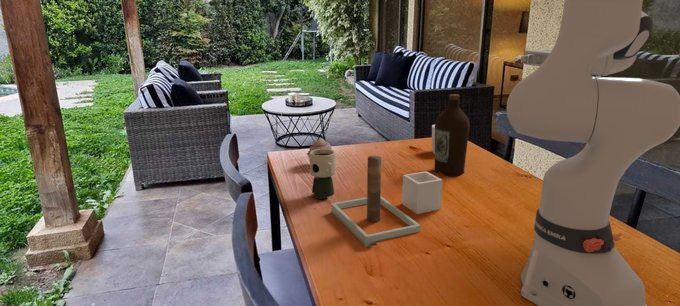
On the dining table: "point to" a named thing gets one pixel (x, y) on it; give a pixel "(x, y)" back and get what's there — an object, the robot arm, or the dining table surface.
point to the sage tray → (371, 238)
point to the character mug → (322, 172)
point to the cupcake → (319, 145)
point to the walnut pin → (373, 188)
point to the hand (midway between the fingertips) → (537, 61)
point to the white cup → (433, 139)
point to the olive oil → (451, 139)
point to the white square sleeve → (422, 192)
